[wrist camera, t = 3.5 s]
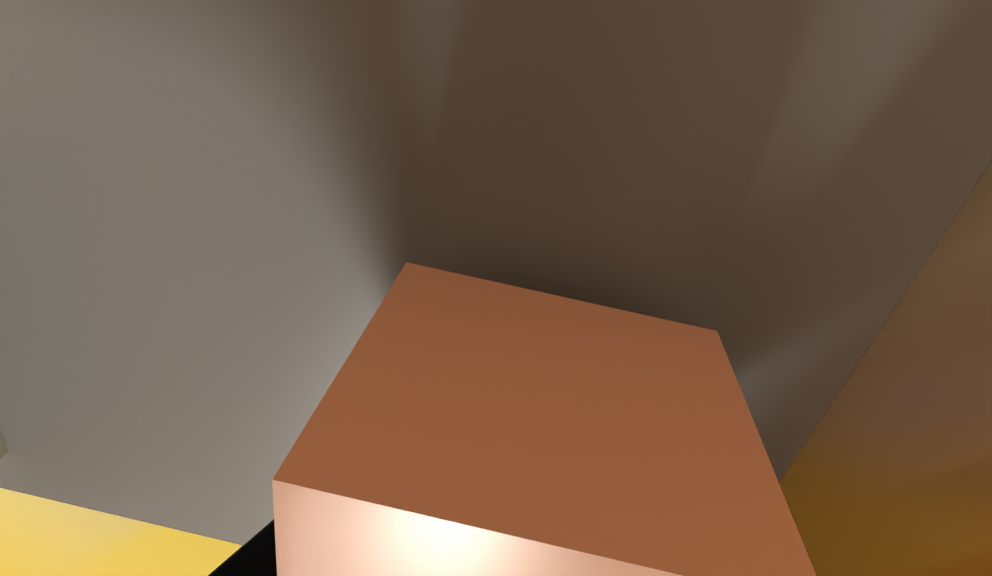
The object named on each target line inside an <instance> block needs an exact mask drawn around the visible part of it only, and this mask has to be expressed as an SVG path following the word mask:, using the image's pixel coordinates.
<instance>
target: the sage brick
mask: <svg viewBox="0 0 992 576" xmlns="http://www.w3.org/2000/svg"><path fill="white" fill-rule="evenodd" d="M7 453H8V451H7V448H6V446H5V443H4V441H3V438H2V436H1V433H0V459H1V458H2V457H3V456H5V455H6V454H7Z"/></svg>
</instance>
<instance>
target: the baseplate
mask: <svg viewBox="0 0 992 576" xmlns="http://www.w3.org/2000/svg"><path fill="white" fill-rule="evenodd" d="M991 160H992V0H0V433H1V436H2V438H3V441H4V443H5V446H6V448H7V451H8V453H7V454H6V455H5V456H3V457H2V458H1V459H0V488H4V489H8V490H13V491H17V492H21V493H25V494H30V495H34V496H38V497H42V498H46V499H51V500H55V501H59V502H63V503H67V504H72V505H76V506H80V507H84V508H88V509H93V510H97V511H101V512H105V513H109V514H114V515H118V516H122V517H126V518H131V519H135V520H139V521H143V522H147V523H152V524H156V525H160V526H164V527H168V528H173V529H177V530H181V531H185V532H189V533H194V534H198V535H202V536H206V537H211V538H215V539H219V540H223V541H227V542H232V543H236V544H240V545H244V544H245V543H247V542H248V541H249V540H250V539H251V538H252V537H253V536H255V535H256V534H257V533H258V532H259V531H260V530H262V529H263V528H264V527H265V526H266V525H267V524H269V523H270V522H271V521H272V520H273V519H274V506H273V487H272V479H273V477H274V476H275V474H276V473H277V471H278V469H279V468H280V466H281V464H282V463H283V461H284V460H285V458H286V456H287V455H288V453H289V451H290V450H291V448H292V447H293V445H294V443H295V442H296V440H297V439H298V437H299V435H300V434H301V432H302V430H303V429H304V427H305V426H306V424H307V422H308V421H309V419H310V417H311V416H312V414H313V413H314V411H315V409H316V408H317V406H318V405H319V403H320V401H321V400H322V398H323V396H324V395H325V393H326V392H327V390H328V388H329V387H330V385H331V383H332V382H333V380H334V379H335V377H336V375H337V374H338V372H339V371H340V369H341V367H342V366H343V364H344V362H345V361H346V359H347V358H348V356H349V354H350V353H351V351H352V350H353V348H354V346H355V345H356V343H357V341H358V340H359V338H360V337H361V335H362V333H363V332H364V330H365V328H366V327H367V325H368V324H369V322H370V320H371V319H372V317H373V316H374V314H375V312H376V311H377V309H378V307H379V306H380V304H381V303H382V301H383V299H384V298H385V296H386V294H387V293H388V291H389V290H390V288H391V286H392V285H393V283H394V282H395V280H396V278H397V277H398V275H399V273H400V272H401V270H402V269H403V267H404V265H405V264H406V262H408V263H413V264H417V265H422V266H426V267H431V268H435V269H440V270H444V271H449V272H453V273H458V274H462V275H467V276H471V277H476V278H480V279H485V280H489V281H494V282H498V283H503V284H507V285H512V286H516V287H521V288H525V289H530V290H534V291H539V292H543V293H548V294H552V295H557V296H561V297H566V298H570V299H575V300H579V301H584V302H588V303H593V304H597V305H602V306H607V307H611V308H616V309H620V310H625V311H629V312H634V313H638V314H643V315H647V316H652V317H656V318H661V319H665V320H670V321H674V322H679V323H683V324H688V325H692V326H697V327H701V328H706V329H710V330H715V331H717V332H718V334H719V337H720V339H721V342H722V344H723V347H724V349H725V352H726V354H727V357H728V359H729V361H730V364H731V366H732V369H733V371H734V374H735V376H736V379H737V381H738V384H739V386H740V388H741V391H742V393H743V396H744V398H745V401H746V403H747V406H748V408H749V411H750V413H751V416H752V418H753V420H754V423H755V425H756V428H757V430H758V433H759V435H760V438H761V440H762V443H763V445H764V448H765V450H766V452H767V455H768V457H769V460H770V462H771V465H772V467H773V470H774V472H775V475H776V477H777V480H778V482H779V481H780V480H781V478H782V477H783V475H784V474H785V472H786V471H787V469H788V468H789V466H790V465H791V463H792V462H793V460H794V459H795V457H796V456H797V454H798V453H799V451H800V450H801V448H802V447H803V445H804V444H805V442H806V441H807V439H808V437H809V436H810V434H811V433H812V431H813V430H814V428H815V427H816V425H817V424H818V422H819V421H820V419H821V418H822V416H823V415H824V413H825V412H826V410H827V409H828V407H829V406H830V404H831V403H832V401H833V400H834V398H835V397H836V395H837V394H838V392H839V391H840V389H841V388H842V386H843V384H844V383H845V381H846V380H847V378H848V377H849V375H850V374H851V372H852V371H853V369H854V368H855V366H856V365H857V363H858V362H859V360H860V359H861V357H862V356H863V354H864V353H865V351H866V350H867V348H868V347H869V345H870V344H871V342H872V341H873V339H874V338H875V336H876V334H877V333H878V331H879V330H880V328H881V327H882V325H883V324H884V322H885V321H886V319H887V318H888V316H889V315H890V313H891V312H892V310H893V309H894V307H895V306H896V304H897V303H898V301H899V300H900V298H901V297H902V295H903V294H904V292H905V291H906V289H907V288H908V286H909V285H910V283H911V281H912V280H913V278H914V277H915V275H916V274H917V272H918V271H919V269H920V268H921V266H922V265H923V263H924V262H925V260H926V259H927V257H928V256H929V254H930V253H931V251H932V250H933V248H934V247H935V245H936V244H937V242H938V241H939V239H940V238H941V236H942V235H943V233H944V232H945V230H946V228H947V227H948V225H949V224H950V222H951V221H952V219H953V218H954V216H955V215H956V213H957V212H958V210H959V209H960V207H961V206H962V204H963V203H964V201H965V200H966V198H967V197H968V195H969V194H970V192H971V191H972V189H973V188H974V186H975V185H976V183H977V182H978V180H979V178H980V177H981V175H982V174H983V172H984V171H985V169H986V168H987V166H988V165H989V163H990V162H991Z"/></svg>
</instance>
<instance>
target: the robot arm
mask: <svg viewBox="0 0 992 576" xmlns="http://www.w3.org/2000/svg"><path fill="white" fill-rule="evenodd" d="M208 576H277V565H276V545H275V526H274V519H273V520H272V521H271V522H270V523H269V524H267V525H266V526H265V527H264V528H263V529H262V530H260V531H259V532H258V533H257V534H256V535H255V536H253V537H252V538H251V539H250V540H249V541H248V542H247V543H245V544H244V545H243V546H242V547H241V548H240V549H238V550H237V551H236V552H235V553H234V554H233V555H231V556H230V557H229V558H228V559H227V560H226V561H224V562H223V563H222V564H221V565H220V566H219V567H218V568H216V569H215V570H214V571H213V572H212V573H211V574H209V575H208Z"/></svg>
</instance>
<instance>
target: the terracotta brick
mask: <svg viewBox="0 0 992 576" xmlns="http://www.w3.org/2000/svg"><path fill="white" fill-rule="evenodd" d="M272 487H273V506H274V526H275V545H276V565H277V576H816V573H815V571H814V568H813V566H812V563H811V561H810V558H809V556H808V553H807V551H806V548H805V546H804V544H803V541H802V539H801V536H800V534H799V531H798V529H797V526H796V524H795V521H794V519H793V516H792V514H791V512H790V509H789V507H788V504H787V502H786V499H785V497H784V494H783V492H782V489H781V487H780V484H779V482H778V480H777V477H776V475H775V472H774V470H773V467H772V465H771V462H770V460H769V457H768V455H767V452H766V450H765V448H764V445H763V443H762V440H761V438H760V435H759V433H758V430H757V428H756V425H755V423H754V420H753V418H752V416H751V413H750V411H749V408H748V406H747V403H746V401H745V398H744V396H743V393H742V391H741V388H740V386H739V384H738V381H737V379H736V376H735V374H734V371H733V369H732V366H731V364H730V361H729V359H728V357H727V354H726V352H725V349H724V347H723V344H722V342H721V339H720V337H719V334H718V332H717V331H715V330H710V329H706V328H701V327H697V326H692V325H688V324H683V323H679V322H674V321H670V320H665V319H661V318H656V317H652V316H647V315H643V314H638V313H634V312H629V311H625V310H620V309H616V308H611V307H607V306H602V305H597V304H593V303H588V302H584V301H579V300H575V299H570V298H566V297H561V296H557V295H552V294H548V293H543V292H539V291H534V290H530V289H525V288H521V287H516V286H512V285H507V284H503V283H498V282H494V281H489V280H485V279H480V278H476V277H471V276H467V275H462V274H458V273H453V272H449V271H444V270H440V269H435V268H431V267H426V266H422V265H417V264H413V263H408V262H406V264H405V265H404V267H403V269H402V270H401V272H400V273H399V275H398V277H397V278H396V280H395V282H394V283H393V285H392V286H391V288H390V290H389V291H388V293H387V294H386V296H385V298H384V299H383V301H382V303H381V304H380V306H379V307H378V309H377V311H376V312H375V314H374V316H373V317H372V319H371V320H370V322H369V324H368V325H367V327H366V328H365V330H364V332H363V333H362V335H361V337H360V338H359V340H358V341H357V343H356V345H355V346H354V348H353V350H352V351H351V353H350V354H349V356H348V358H347V359H346V361H345V362H344V364H343V366H342V367H341V369H340V371H339V372H338V374H337V375H336V377H335V379H334V380H333V382H332V383H331V385H330V387H329V388H328V390H327V392H326V393H325V395H324V396H323V398H322V400H321V401H320V403H319V405H318V406H317V408H316V409H315V411H314V413H313V414H312V416H311V417H310V419H309V421H308V422H307V424H306V426H305V427H304V429H303V430H302V432H301V434H300V435H299V437H298V439H297V440H296V442H295V443H294V445H293V447H292V448H291V450H290V451H289V453H288V455H287V456H286V458H285V460H284V461H283V463H282V464H281V466H280V468H279V469H278V471H277V473H276V474H275V476H274V477H273V479H272Z"/></svg>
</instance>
